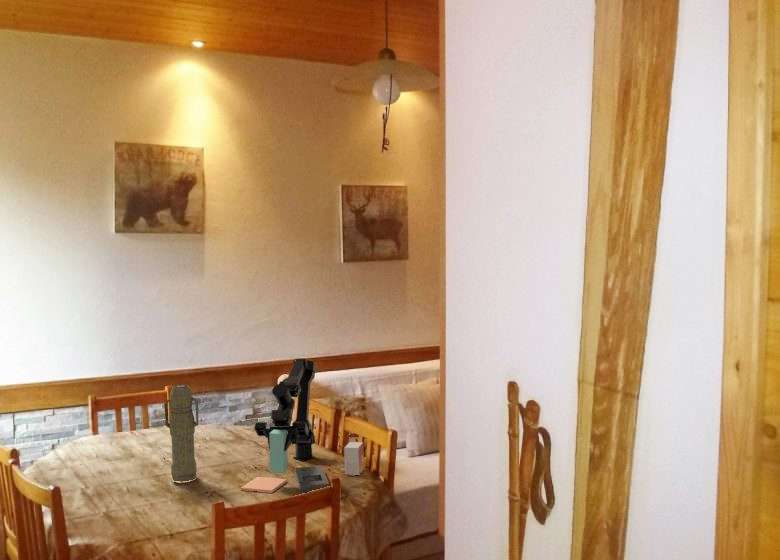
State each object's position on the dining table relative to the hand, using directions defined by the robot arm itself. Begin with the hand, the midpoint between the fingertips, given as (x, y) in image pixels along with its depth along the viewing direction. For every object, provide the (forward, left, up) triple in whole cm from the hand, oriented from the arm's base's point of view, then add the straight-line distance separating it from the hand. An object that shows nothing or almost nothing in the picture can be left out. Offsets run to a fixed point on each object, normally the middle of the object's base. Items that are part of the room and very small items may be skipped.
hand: (277, 450), depth 247 cm
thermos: (-35, -16, -14) cm, 41 cm away
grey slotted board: (+4, +11, -13) cm, 18 cm away
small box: (+9, +29, -14) cm, 33 cm away
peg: (-1, +1, -8) cm, 8 cm away
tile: (-6, -2, -13) cm, 15 cm away
